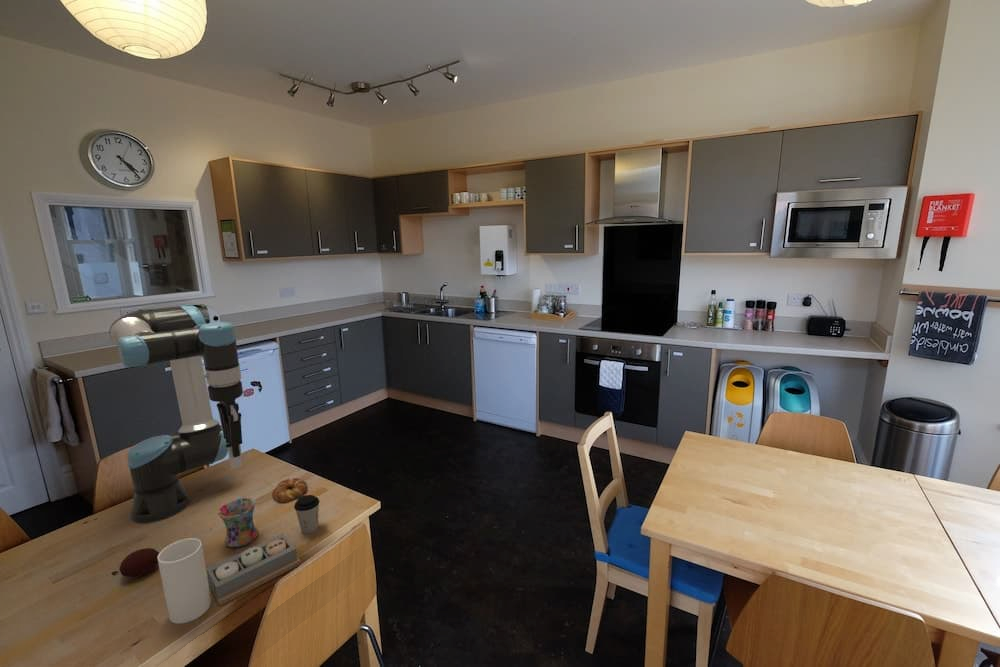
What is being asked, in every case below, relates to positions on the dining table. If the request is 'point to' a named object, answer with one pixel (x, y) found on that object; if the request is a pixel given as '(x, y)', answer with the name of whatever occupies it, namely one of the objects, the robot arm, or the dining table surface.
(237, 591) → the console
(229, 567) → the button
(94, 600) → the dining table surface
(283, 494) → the bagel
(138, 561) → the potato
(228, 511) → the mug
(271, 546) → the button
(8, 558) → the dining table surface
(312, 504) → the coffee cup
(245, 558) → the button
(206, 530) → the dining table surface
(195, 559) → the cup
